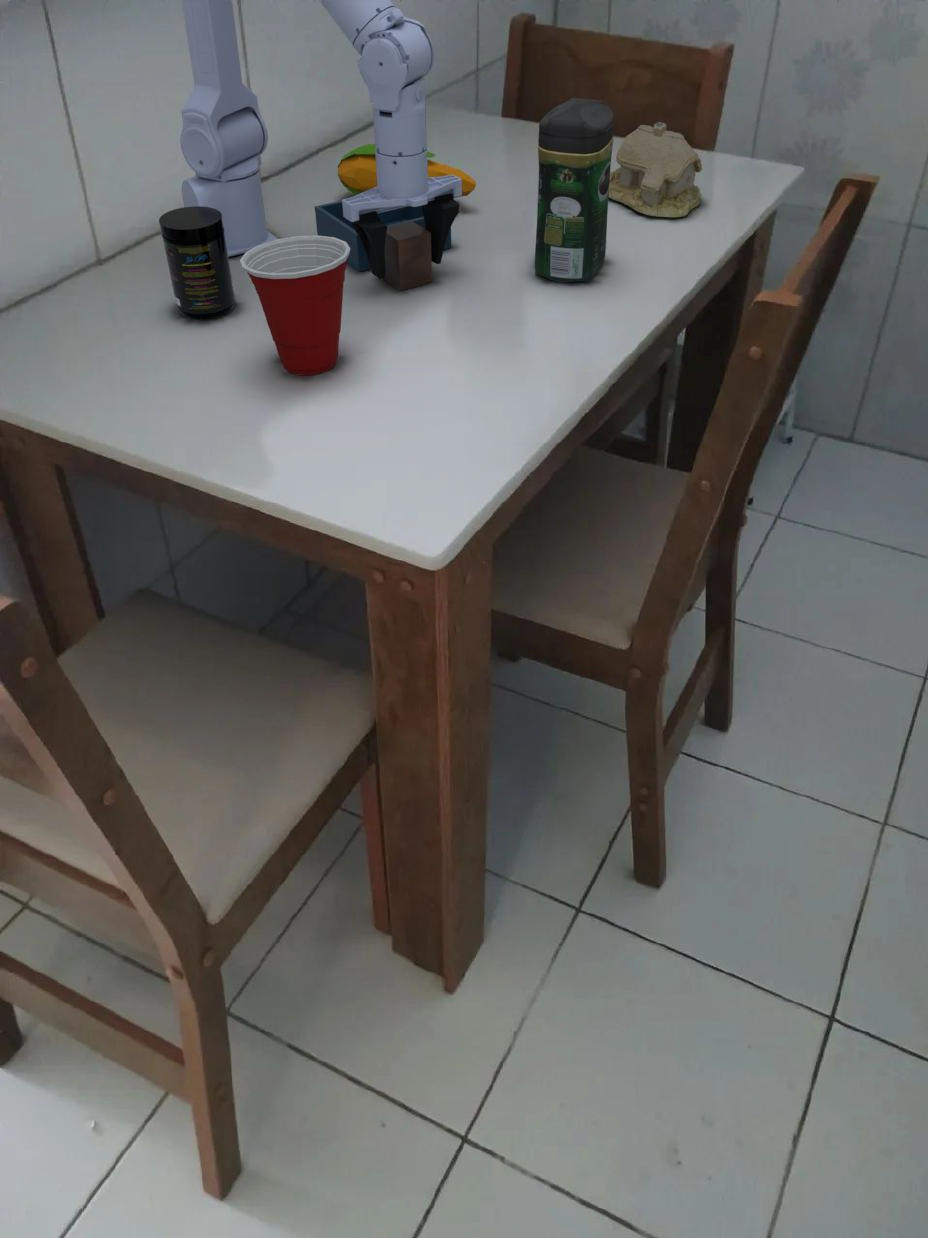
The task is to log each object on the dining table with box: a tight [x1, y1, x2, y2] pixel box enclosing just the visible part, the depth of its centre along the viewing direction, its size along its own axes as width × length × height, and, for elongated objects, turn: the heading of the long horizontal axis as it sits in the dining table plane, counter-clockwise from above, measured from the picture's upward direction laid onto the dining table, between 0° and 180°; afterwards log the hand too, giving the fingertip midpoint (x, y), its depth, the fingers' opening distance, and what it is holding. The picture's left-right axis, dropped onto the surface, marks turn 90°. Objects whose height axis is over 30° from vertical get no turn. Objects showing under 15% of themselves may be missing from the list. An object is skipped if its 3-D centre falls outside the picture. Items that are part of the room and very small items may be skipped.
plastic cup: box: [239, 234, 350, 376], centre depth 107 cm, size 11×11×12 cm
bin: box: [314, 199, 452, 272], centre depth 133 cm, size 13×11×4 cm
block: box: [382, 221, 433, 292], centre depth 125 cm, size 4×4×6 cm
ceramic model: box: [608, 121, 703, 218], centre depth 142 cm, size 14×11×10 cm
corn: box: [337, 143, 477, 199], centre depth 143 cm, size 7×8×20 cm
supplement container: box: [158, 206, 236, 321], centre depth 118 cm, size 7×7×10 cm
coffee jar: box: [534, 97, 615, 283], centre depth 123 cm, size 10×8×19 cm
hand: (406, 268), depth 126 cm, fingers open, 7 cm apart
